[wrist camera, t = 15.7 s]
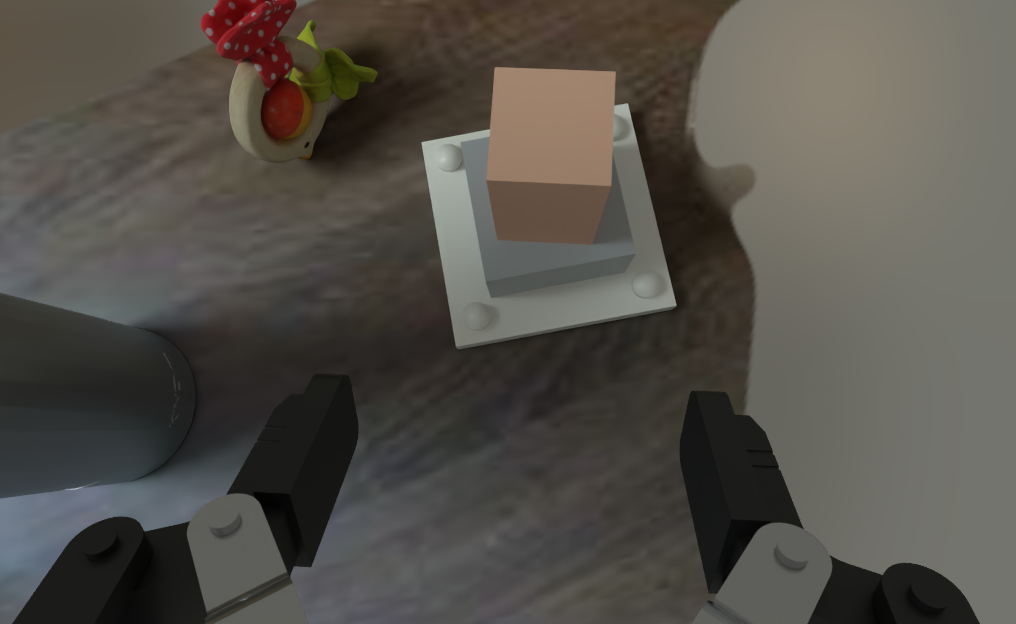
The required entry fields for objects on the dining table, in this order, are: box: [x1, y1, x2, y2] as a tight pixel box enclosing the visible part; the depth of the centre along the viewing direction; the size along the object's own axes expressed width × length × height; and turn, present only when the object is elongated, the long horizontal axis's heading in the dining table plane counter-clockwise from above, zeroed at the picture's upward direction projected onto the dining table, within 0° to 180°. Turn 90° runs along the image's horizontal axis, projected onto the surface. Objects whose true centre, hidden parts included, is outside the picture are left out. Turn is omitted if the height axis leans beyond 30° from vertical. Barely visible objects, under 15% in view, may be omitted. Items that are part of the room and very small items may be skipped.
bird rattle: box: [201, 0, 378, 163], centre depth 35 cm, size 6×11×9 cm
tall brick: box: [486, 67, 615, 245], centre depth 29 cm, size 5×5×8 cm
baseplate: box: [422, 103, 676, 350], centre depth 35 cm, size 13×13×5 cm
